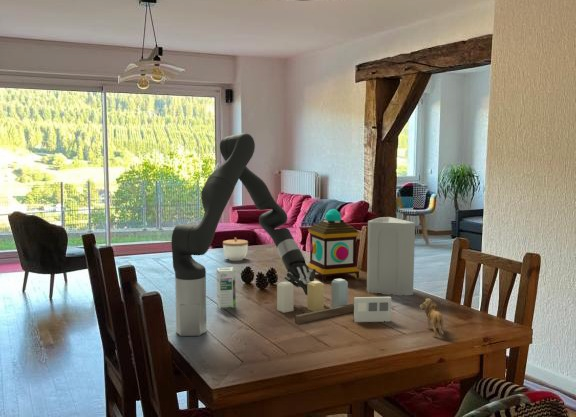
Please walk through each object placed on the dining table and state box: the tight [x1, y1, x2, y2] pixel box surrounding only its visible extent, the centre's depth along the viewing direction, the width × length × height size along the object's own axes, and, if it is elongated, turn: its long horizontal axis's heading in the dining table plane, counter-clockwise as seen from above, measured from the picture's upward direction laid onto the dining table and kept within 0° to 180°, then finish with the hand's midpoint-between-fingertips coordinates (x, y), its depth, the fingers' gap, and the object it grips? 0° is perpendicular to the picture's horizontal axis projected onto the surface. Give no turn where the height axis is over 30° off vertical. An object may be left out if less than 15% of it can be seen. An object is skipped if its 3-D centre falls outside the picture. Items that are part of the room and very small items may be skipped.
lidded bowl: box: [222, 237, 249, 262], centre depth 283 cm, size 13×13×11 cm
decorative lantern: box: [307, 208, 360, 283], centre depth 245 cm, size 20×20×30 cm
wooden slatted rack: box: [293, 303, 354, 325], centre depth 193 cm, size 20×28×4 cm
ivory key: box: [276, 280, 295, 313], centre depth 191 cm, size 4×4×10 cm
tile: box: [353, 296, 392, 323], centre depth 183 cm, size 1×12×8 cm, turn 94°
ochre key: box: [306, 280, 325, 312], centre depth 192 cm, size 4×4×10 cm
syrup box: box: [216, 266, 237, 310], centre depth 196 cm, size 6×6×14 cm
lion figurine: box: [419, 298, 446, 339], centre depth 173 cm, size 15×5×9 cm, turn 9°
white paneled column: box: [366, 216, 416, 296], centre depth 222 cm, size 19×15×28 cm
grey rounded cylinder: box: [330, 278, 349, 308], centre depth 195 cm, size 4×4×10 cm
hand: (310, 295), depth 194 cm, fingers closed
